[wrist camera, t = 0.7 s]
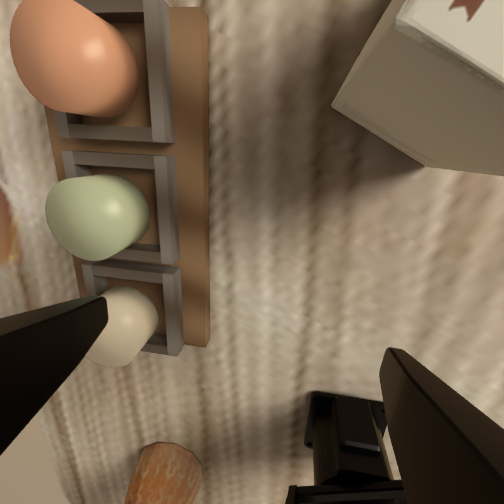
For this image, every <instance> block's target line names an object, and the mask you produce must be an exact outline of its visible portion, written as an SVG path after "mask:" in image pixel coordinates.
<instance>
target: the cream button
mask: <svg viewBox="0 0 504 504" xmlns="http://www.w3.org/2000/svg"><path fill="white" fill-rule="evenodd" d="M100 296H103V297H105V298H106V300H107V307H108V323H107V325H106V327H105V328H104V330H103V331H102V332H101V334H100V335H99V337H98V338H97V340H96V341H95V342H94V344H93V345H92V347H91V348H90V349H89V351H88V352H87V354H86V355H85V356H86V357H87V358H88V359H90V360H91V361H93V362H95V363H97V364H99V365H102V366H105V367H112V368H117V367H122V366H125V365H127V364H129V363H130V362H131V361H132V360H133V359H134V358H135V356H136V355H137V354H138V353H139V351H140V350H141V349H142V348H143V346H144V345H145V344H146V343H147V341H148V340H149V339H150V338H151V336H152V335H153V334H154V332H155V331H156V329H157V327H158V313H157V310H156V308H155V306H154V304H153V303H152V302H151V300H150V299H149V298H148V297H147V296H146V295H145V294H143V293H142V292H140V291H139V290H137V289H134V288H132V287H128V286H116V287H112V288H110V289H108V290H107V291H106V292H104V293H103V294H101V295H100Z"/></svg>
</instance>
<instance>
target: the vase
mask: <svg viewBox="0 0 504 504" xmlns="http://www.w3.org/2000/svg"><path fill="white" fill-rule="evenodd" d="M202 479H203V473H202V467H201V464H200V463H199V461H198V460H197V459H196V458H195V456H194V455H193V454H192V453H191V452H190V451H188V450H186V449H184V448H182V447H180V446H179V445H177V444H173V443H161V442H158V443H155V444H152V445H149V446H147V447H145V448H144V449H143V451H142V453H141V456H140V458H139V460H138V463H137V465H136V467H135V469H134V472H133V475H132V478H131V481H130V484H129V488H128V492H127V495H126V499H125V504H192V503H193V501H194V499H195V497H196V494H197V492H198V490H199V488H200V485H201V482H202Z"/></svg>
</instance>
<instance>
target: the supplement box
mask: <svg viewBox="0 0 504 504" xmlns="http://www.w3.org/2000/svg"><path fill="white" fill-rule="evenodd" d="M331 107H332V108H334V109H335V110H337V111H338V112H340V113H342V114H343V115H345V116H346V117H348V118H350V119H351V120H353V121H354V122H356V123H358V124H359V125H361V126H362V127H364V128H366V129H367V130H369V131H370V132H372V133H374V134H375V135H377V136H378V137H380V138H381V139H383V140H385V141H386V142H388V143H389V144H391V145H392V146H394V147H396V148H397V149H399V150H400V151H402V152H403V153H405V154H407V155H408V156H410V157H411V158H413V159H415V160H416V161H418V162H419V163H421V164H423V165H424V166H426V167H431V168H441V169H449V170H457V171H466V172H474V173H482V174H491V175H498V176H504V0H392V1H391V3H390V4H389V6H388V7H387V9H386V11H385V12H384V14H383V15H382V17H381V19H380V20H379V22H378V24H377V25H376V27H375V29H374V30H373V32H372V34H371V35H370V37H369V39H368V40H367V42H366V44H365V46H364V47H363V49H362V51H361V53H360V54H359V56H358V58H357V59H356V61H355V63H354V65H353V66H352V68H351V70H350V72H349V74H348V75H347V77H346V79H345V81H344V83H343V84H342V86H341V88H340V90H339V92H338V93H337V95H336V97H335V99H334V100H333V102H332V104H331Z"/></svg>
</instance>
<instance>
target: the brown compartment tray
mask: <svg viewBox="0 0 504 504" xmlns="http://www.w3.org/2000/svg"><path fill="white" fill-rule="evenodd" d="M74 1H75V2H77V3H78V4H80V5H82V6H83V7H85V8H86V9H88V10H89V11H91V12H92V13H94V14H95V15H97V16H99V17H100V18H102V19H103V20H105V21H106V22H108V23H109V24H111V25H112V26H114V27H115V28H116V29H118V30H119V31H120V32H121V33H122V34H123V35H124V37H125V38H126V39H127V41H128V42H129V44H130V46H131V48H132V50H133V52H134V54H135V57H136V61H137V65H138V74H139V80H138V88H137V92H136V95H135V98H134V100H133V102H132V103H131V105H130V106H129V107H128V108H127V110H125V111H124V112H123V113H121V114H120V115H118V116H115V117H111V118H100V117H94V116H87V115H81V114H74V113H67V112H61V111H57V110H54V109H51V108H49V107H47V106H45V105H44V106H45V112H46V117H47V122H48V128H49V133H50V138H51V144H52V149H53V154H54V159H55V165H56V170H57V175H58V181H59V182H60V181H62V180H65V179H69V178H77V177H84V176H92V175H100V174H117V175H121V176H123V177H125V178H127V179H129V180H130V181H132V182H133V183H134V184H135V185H136V186H137V187H138V188H139V189H140V190H141V192H142V193H143V195H144V196H145V198H146V200H147V203H148V206H149V211H150V223H149V227H148V229H147V232H146V233H145V235H144V236H143V237H142V238H141V239H140V240H139V241H137V242H135V243H134V244H132V245H130V246H128V247H126V248H125V249H123V250H121V251H119V252H118V253H116V254H114V255H112V256H111V257H109V258H107V259H104V260H100V261H89V260H84V259H81V258H79V257H76V256H75V255H73V254H72V255H73V260H74V265H75V271H76V276H77V281H78V287H79V292H80V297H81V298H82V297H86V296H90V295H97V296H100V295H101V294H103V293H104V292H106V291H107V290H108V289H110V288H112V287H116V286H128V287H132V288H134V289H137V290H139V291H140V292H142V293H143V294H145V295H146V296H147V297H148V298H149V299H150V300H151V302H152V303H153V304H154V306H155V308H156V310H157V313H158V327H157V329H156V331H155V332H154V334H153V335H152V336H151V338H150V339H149V340H148V341H147V343H146V344H145V345H144V346H143V348H142V349H141V350H140V351H146V352H152V353H159V354H165V355H171V356H178V355H179V353H180V351H181V350H182V348H183V346H184V344H186V345H192V346H199V347H205V348H206V346H207V344H208V342H209V340H210V259H209V99H208V16H207V14H206V13H205V11H204V10H203V8H202V7H169V5H168V4H167V3H166V2H165V1H164V0H74Z"/></svg>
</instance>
